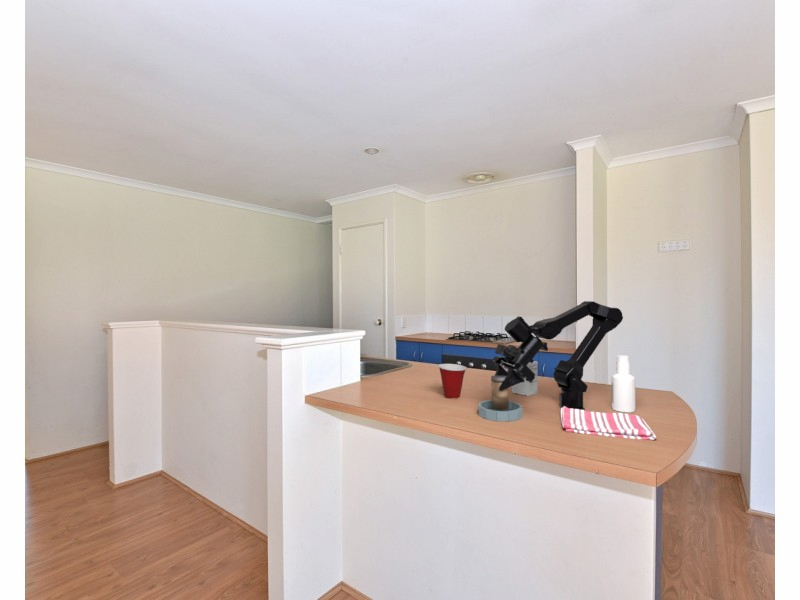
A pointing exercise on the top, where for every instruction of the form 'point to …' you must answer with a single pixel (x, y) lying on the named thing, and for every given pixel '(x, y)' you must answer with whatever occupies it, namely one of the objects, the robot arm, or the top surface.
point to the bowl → (500, 411)
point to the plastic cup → (452, 379)
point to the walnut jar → (499, 393)
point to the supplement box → (526, 386)
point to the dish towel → (605, 424)
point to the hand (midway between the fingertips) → (496, 387)
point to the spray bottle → (623, 386)
